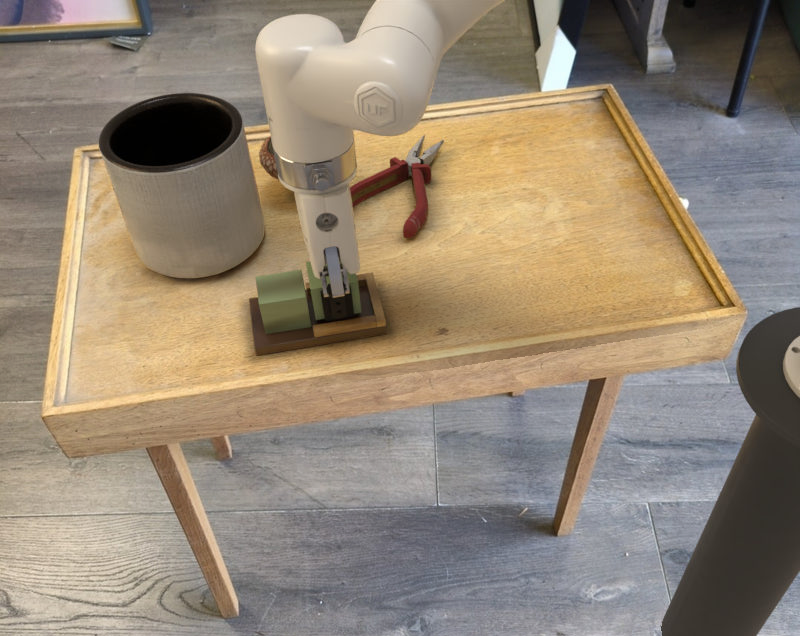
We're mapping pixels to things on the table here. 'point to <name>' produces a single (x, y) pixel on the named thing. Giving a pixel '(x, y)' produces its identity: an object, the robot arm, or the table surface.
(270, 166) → the acorn
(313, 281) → the block
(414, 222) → the pliers
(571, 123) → the table surface
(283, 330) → the brown wooden rectangular tray
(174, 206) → the planter
